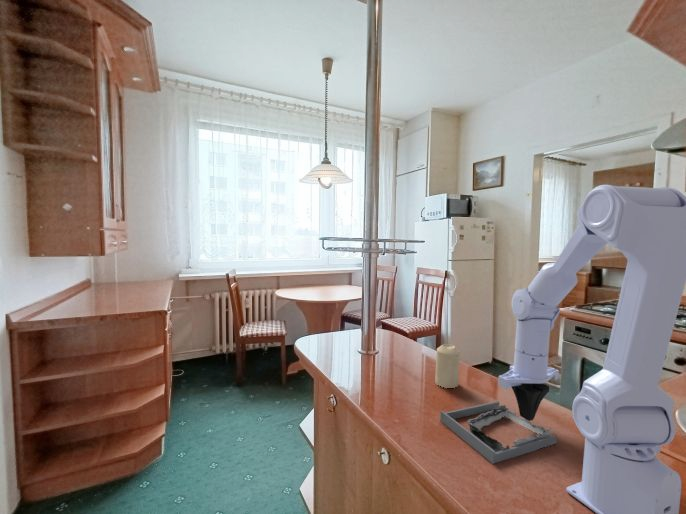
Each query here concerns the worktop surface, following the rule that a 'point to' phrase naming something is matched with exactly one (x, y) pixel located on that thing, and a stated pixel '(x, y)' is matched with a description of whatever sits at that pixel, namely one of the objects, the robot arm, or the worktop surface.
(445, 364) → the candle
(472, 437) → the box
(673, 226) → the robot arm
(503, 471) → the worktop surface
